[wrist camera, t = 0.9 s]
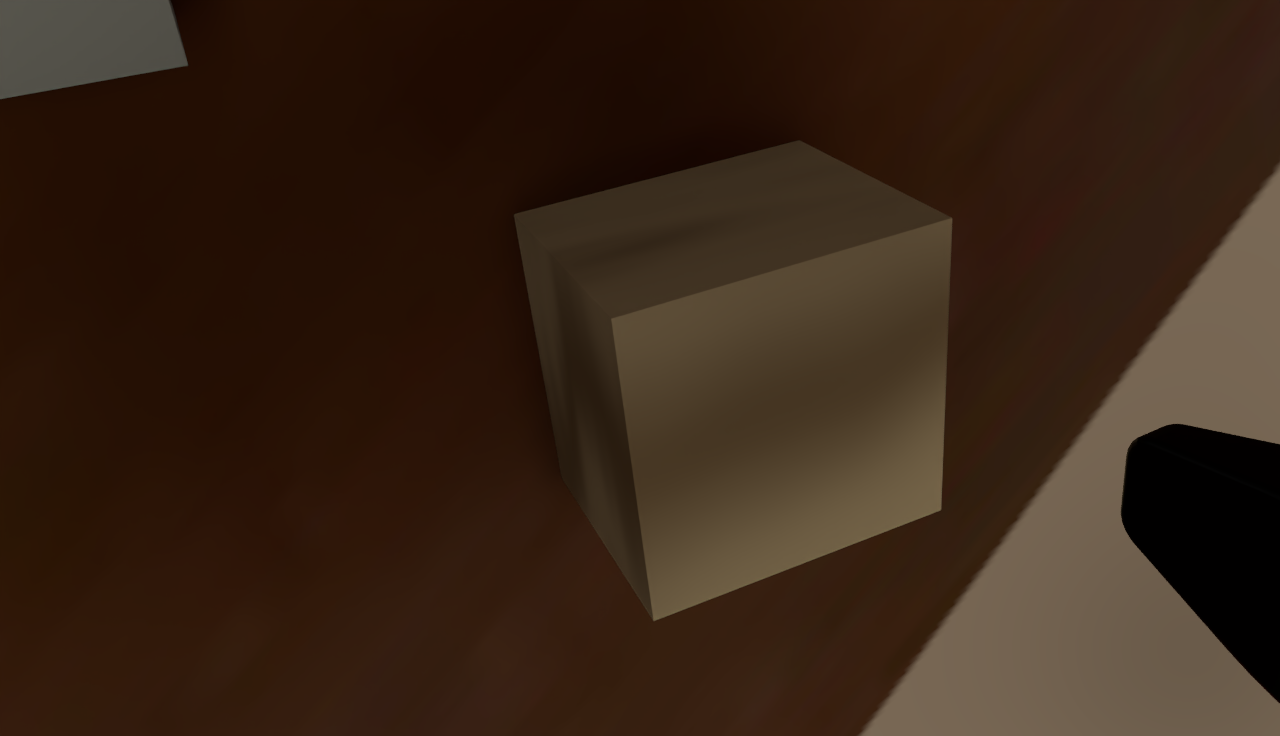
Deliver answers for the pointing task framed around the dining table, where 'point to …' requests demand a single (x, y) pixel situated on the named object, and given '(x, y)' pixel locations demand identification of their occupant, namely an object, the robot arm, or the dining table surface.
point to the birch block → (742, 364)
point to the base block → (84, 42)
